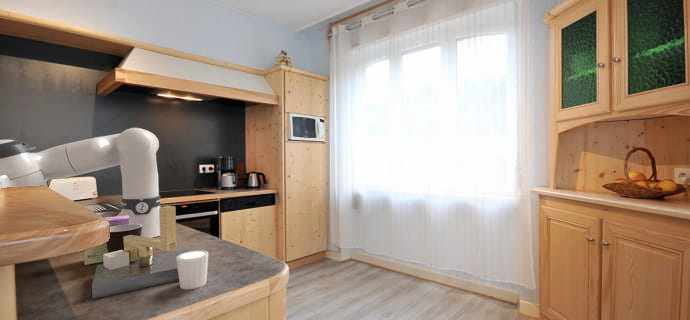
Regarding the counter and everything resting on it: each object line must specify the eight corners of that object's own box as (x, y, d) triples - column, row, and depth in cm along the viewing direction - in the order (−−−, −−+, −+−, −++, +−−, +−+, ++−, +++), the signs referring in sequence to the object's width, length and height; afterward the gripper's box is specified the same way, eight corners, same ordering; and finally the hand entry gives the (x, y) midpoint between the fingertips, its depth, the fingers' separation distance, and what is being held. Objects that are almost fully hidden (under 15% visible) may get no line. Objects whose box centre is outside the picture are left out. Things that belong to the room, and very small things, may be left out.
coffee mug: (123, 270, 82) (122, 232, 82) (96, 267, 84) (95, 230, 84) (158, 255, 94) (157, 222, 93) (134, 253, 95) (133, 220, 95)
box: (130, 252, 96) (128, 214, 96) (130, 257, 92) (129, 217, 91) (86, 259, 90) (84, 219, 90) (84, 265, 86) (82, 222, 85)
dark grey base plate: (97, 276, 78) (97, 264, 78) (186, 260, 89) (186, 249, 89) (92, 298, 67) (91, 285, 66) (195, 276, 78) (195, 264, 78)
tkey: (121, 262, 79) (119, 204, 78) (133, 258, 82) (131, 202, 81) (167, 271, 73) (165, 208, 72) (178, 266, 76) (176, 206, 75)
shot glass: (188, 293, 69) (187, 261, 69) (170, 286, 73) (170, 256, 72) (215, 281, 75) (214, 252, 75) (198, 275, 79) (197, 248, 78)
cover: (103, 266, 77) (103, 254, 77) (122, 261, 80) (122, 249, 80) (110, 269, 75) (110, 257, 75) (129, 264, 78) (129, 252, 78)
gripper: (10, 228, 67) (93, 219, 75) (-27, 255, 51) (84, 240, 59) (9, 199, 67) (91, 193, 75) (-30, 217, 50) (82, 206, 58)
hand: (88, 213), depth 67 cm, fingers closed
